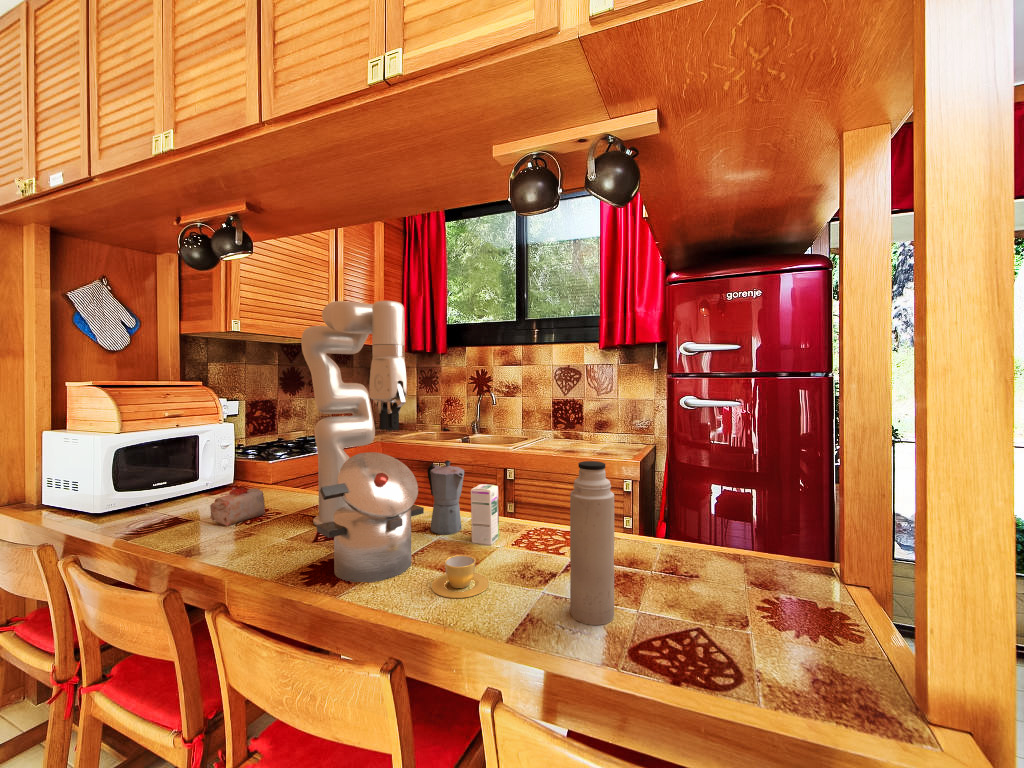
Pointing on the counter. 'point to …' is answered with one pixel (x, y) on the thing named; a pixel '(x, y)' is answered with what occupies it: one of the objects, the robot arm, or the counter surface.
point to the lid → (375, 486)
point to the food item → (238, 506)
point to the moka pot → (445, 497)
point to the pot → (369, 544)
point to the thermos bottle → (592, 546)
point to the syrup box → (485, 514)
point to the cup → (460, 577)
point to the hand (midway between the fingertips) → (389, 428)
